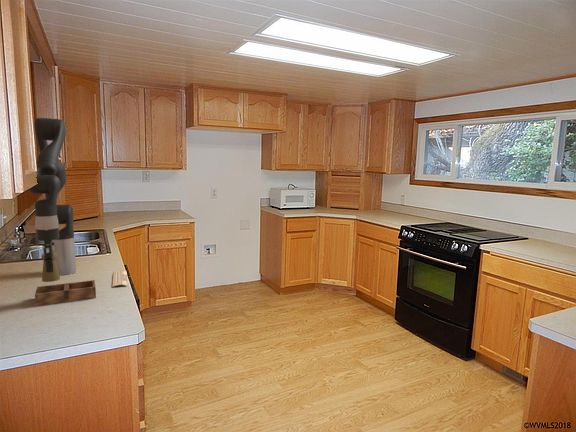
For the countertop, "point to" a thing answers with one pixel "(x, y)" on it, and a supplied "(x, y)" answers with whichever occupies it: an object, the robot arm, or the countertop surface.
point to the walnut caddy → (65, 292)
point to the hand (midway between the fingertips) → (50, 270)
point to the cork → (50, 275)
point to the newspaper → (119, 278)
